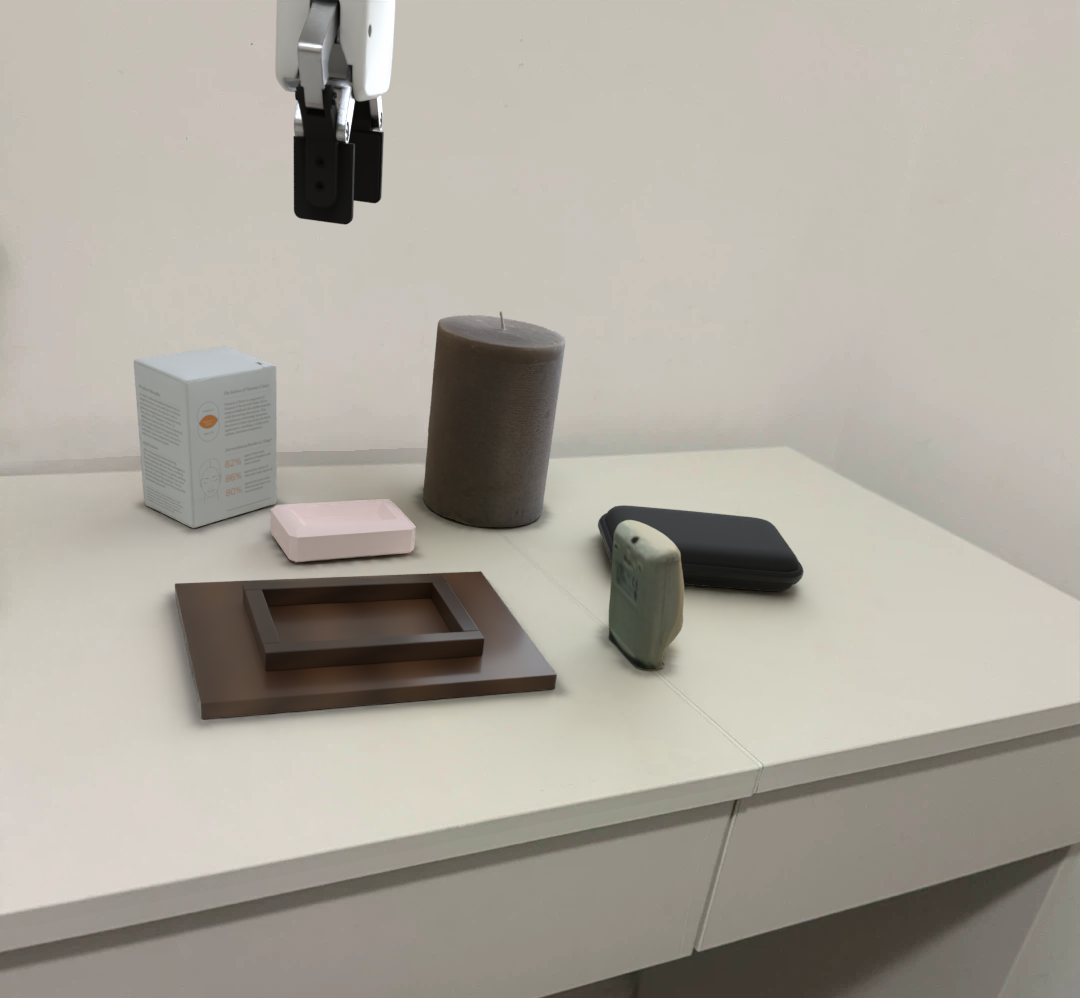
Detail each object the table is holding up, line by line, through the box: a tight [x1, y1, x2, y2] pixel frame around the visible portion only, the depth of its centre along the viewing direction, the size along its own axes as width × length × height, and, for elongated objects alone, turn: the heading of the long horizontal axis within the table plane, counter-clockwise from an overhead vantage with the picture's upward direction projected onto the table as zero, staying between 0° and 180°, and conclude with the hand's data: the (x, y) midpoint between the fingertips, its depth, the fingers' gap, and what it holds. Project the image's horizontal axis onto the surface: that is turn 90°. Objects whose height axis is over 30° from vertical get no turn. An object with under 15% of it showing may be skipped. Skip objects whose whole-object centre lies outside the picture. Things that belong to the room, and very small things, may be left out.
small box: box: [133, 345, 278, 529], centre depth 75 cm, size 8×6×10 cm
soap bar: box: [270, 498, 417, 563], centre depth 75 cm, size 5×9×2 cm, turn 118°
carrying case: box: [597, 505, 804, 592], centre depth 81 cm, size 11×3×15 cm
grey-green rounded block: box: [608, 520, 685, 671], centre depth 66 cm, size 6×5×8 cm
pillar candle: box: [422, 310, 566, 528], centre depth 82 cm, size 10×10×15 cm
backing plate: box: [174, 571, 558, 720], centre depth 63 cm, size 20×14×2 cm
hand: (340, 209), depth 63 cm, fingers open, 9 cm apart
